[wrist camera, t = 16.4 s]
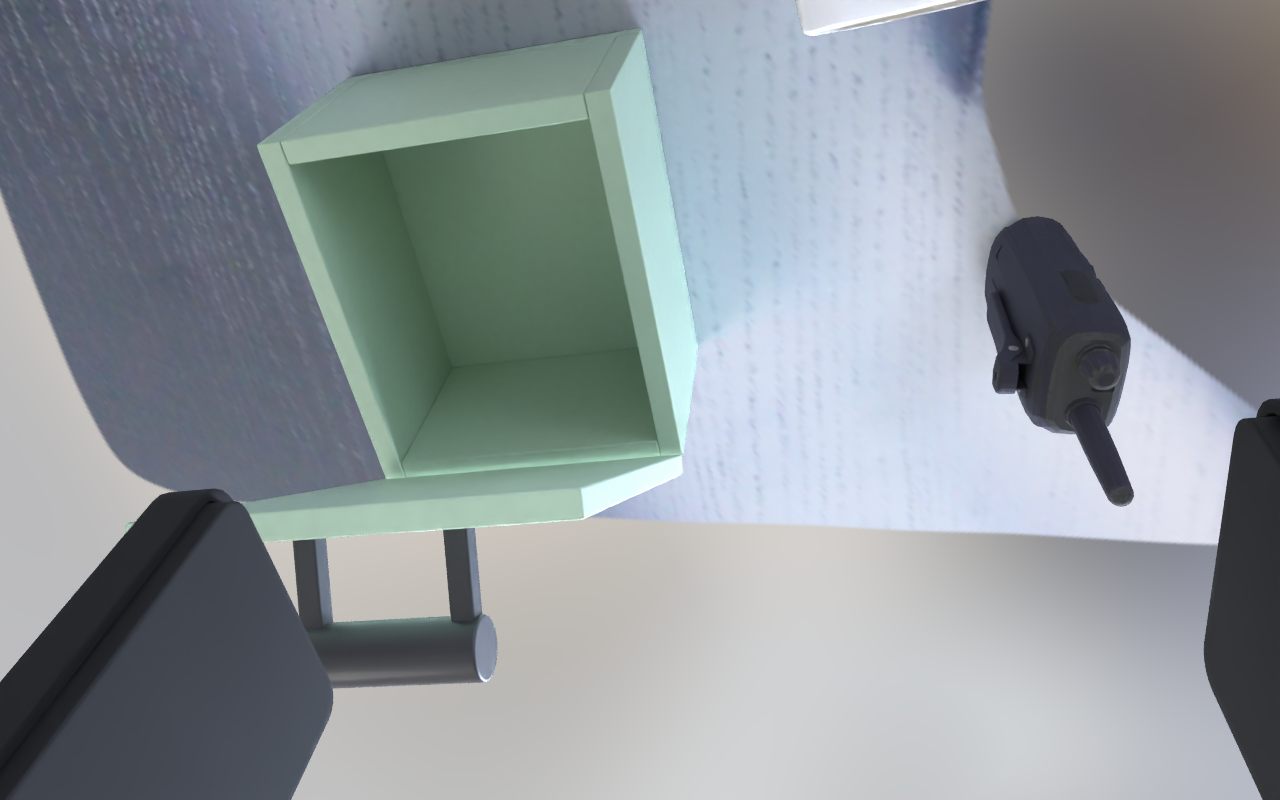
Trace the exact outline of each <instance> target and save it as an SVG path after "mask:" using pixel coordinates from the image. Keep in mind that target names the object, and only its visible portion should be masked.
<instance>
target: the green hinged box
mask: <svg viewBox="0 0 1280 800" xmlns="http://www.w3.org/2000/svg"><path fill="white" fill-rule="evenodd" d="M257 147H258V150H259V153H260V155H261V158H262V160H263V163H264V165H265V168H266V171H267V173H268V176H269V178H270V181H271V183H272V186H273V189H274V191H275V194H276V196H277V199H278V201H279V204H280V207H281V209H282V212H283V214H284V217H285V219H286V222H287V225H288V227H289V230H290V232H291V235H292V237H293V240H294V243H295V245H296V248H297V250H298V253H299V255H300V258H301V261H302V263H303V266H304V268H305V271H306V273H307V276H308V279H309V281H310V284H311V286H312V289H313V291H314V294H315V297H316V299H317V302H318V304H319V307H320V309H321V312H322V315H323V317H324V320H325V322H326V325H327V327H328V330H329V333H330V335H331V338H332V340H333V343H334V346H335V348H336V351H337V353H338V356H339V358H340V361H341V364H342V366H343V369H344V371H345V374H346V376H347V379H348V382H349V384H350V387H351V389H352V392H353V394H354V397H355V400H356V402H357V405H358V407H359V410H360V412H361V415H362V418H363V420H364V423H365V425H366V428H367V430H368V433H369V436H370V438H371V441H372V443H373V446H374V448H375V451H376V454H377V456H378V459H379V461H380V464H381V466H382V469H383V472H384V474H385V477H386V479H393V478H405V477H417V476H429V475H441V474H453V473H465V472H476V471H488V470H500V469H512V468H524V467H536V466H548V465H560V464H572V463H584V462H596V461H608V460H620V459H632V458H644V457H656V456H668V455H681V457H683V454H684V447H685V440H686V433H687V426H688V419H689V412H690V405H691V397H692V390H693V383H694V376H695V369H696V362H697V354H698V343H697V337H696V332H695V326H694V320H693V315H692V309H691V303H690V298H689V292H688V286H687V281H686V275H685V269H684V264H683V258H682V253H681V247H680V241H679V236H678V230H677V224H676V219H675V213H674V207H673V202H672V196H671V190H670V185H669V179H668V173H667V168H666V162H665V157H664V151H663V145H662V140H661V134H660V128H659V123H658V117H657V111H656V106H655V100H654V94H653V89H652V83H651V77H650V72H649V66H648V60H647V55H646V49H645V44H644V38H643V32H642V29H641V28H637V29H631V30H626V31H620V32H614V33H608V34H602V35H596V36H590V37H584V38H578V39H572V40H567V41H561V42H555V43H549V44H543V45H537V46H531V47H525V48H519V49H513V50H508V51H502V52H496V53H490V54H484V55H478V56H472V57H466V58H460V59H454V60H449V61H443V62H437V63H431V64H425V65H419V66H413V67H407V68H401V69H395V70H390V71H384V72H378V73H372V74H366V75H360V76H354V77H348V78H347V79H346V80H344V81H343V82H342V83H340V84H339V85H337V86H336V87H335V88H333V89H332V90H330V91H329V92H328V93H326V94H325V95H324V96H322V97H321V98H320V99H318V100H317V101H316V102H314V103H313V104H312V105H310V106H309V107H307V108H306V109H305V110H303V111H302V112H301V113H299V114H298V115H297V116H295V117H294V118H293V119H291V120H290V121H289V122H287V123H286V124H285V125H283V126H282V127H280V128H279V129H278V130H276V131H275V132H274V133H272V134H271V135H270V136H268V137H267V138H266V139H264V140H263V141H262V142H260V143H259V144H258V145H257Z"/></svg>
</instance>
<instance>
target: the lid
mask: <svg viewBox="0 0 1280 800" xmlns="http://www.w3.org/2000/svg"><path fill="white" fill-rule="evenodd" d="M681 474H683V468H682V458H681V455H668V456H656V457H644V458H632V459H620V460H608V461H596V462H584V463H572V464H560V465H548V466H536V467H524V468H512V469H500V470H488V471H476V472H465V473H453V474H441V475H429V476H417V477H405V478H393V479H382V480H376V481H370V482H365V483H359V484H353V485H347V486H341V487H335V488H329V489H324V490H318V491H312V492H306V493H300V494H294V495H288V496H283V497H277V498H271V499H265V500H259V501H253V502H247V503H242V505H243V506H244V507H245V508H246V510H247V511H248V513H249V515H250V517H251V519H252V521H253V523H254V525H255V527H256V529H257V531H258V533H259V535H260V537H261V539H262V541H263V543H266V542H281V541H293V548H294V560H295V572H296V584H297V595H298V607H299V617H300V619H301V622H302V624H303V626H304V628H305V630H306V632H307V634H308V636H309V638H310V640H311V642H312V644H313V646H314V648H315V650H316V652H317V654H318V657H319V659H320V661H321V663H322V665H323V667H324V669H325V671H326V673H327V675H328V677H329V679H330V682H331V685H332V688H355V687H379V686H403V685H404V686H405V685H430V684H455V683H480V682H486V681H488V680H489V679H490V678H491V677H492V675H493V673H494V669H495V665H496V660H497V637H496V632H495V628H494V625H493V622H492V620H491V619H490V617H489V616H486V615H482V606H481V595H480V583H479V571H478V560H477V550H476V537H475V527H489V526H502V525H517V524H531V523H544V522H558V521H571V520H582V519H585V518H587V517H589V516H591V515H594V514H596V513H598V512H600V511H602V510H605V509H607V508H609V507H611V506H613V505H616V504H618V503H620V502H622V501H624V500H627V499H629V498H631V497H633V496H635V495H638V494H640V493H642V492H644V491H646V490H649V489H651V488H653V487H655V486H657V485H660V484H662V483H664V482H666V481H668V480H671V479H673V478H675V477H677V476H679V475H681ZM134 523H135V522H130V523H127V524H126V533H127V531H128V530H129V529H130V528H131V527H132V525H133V524H134ZM433 530H443V533H444V545H445V556H446V567H447V579H448V590H449V601H450V612H451V616H447V617H428V618H410V619H391V620H372V621H355V622H336V623H333V617H332V607H331V593H330V581H329V570H328V559H327V546H326V538H336V537H349V536H364V535H376V534H377V535H378V534H390V533H391V534H392V533H405V532H420V531H433Z"/></svg>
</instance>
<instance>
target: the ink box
mask: <svg viewBox="0 0 1280 800" xmlns="http://www.w3.org/2000/svg"><path fill="white" fill-rule="evenodd" d="M980 1H985V0H796V5H797V10H798V15H799V19H800V23H801V27H802V30H803V32H804V33H805V34H806V35H809V36H818V35H821V34H827V33H832V32H837V31H845V30H850V29H856V28H861V27H866V26H871V25H876V24H881V23H885V22H890V21H895V20H900V19H905V18H909V17H914V16H918V15H923V14H927V13H932V12H936V11H941V10H945V9H950V8H955V7H959V6H963V5H967V4H972V3H976V2H980Z"/></svg>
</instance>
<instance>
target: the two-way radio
mask: <svg viewBox="0 0 1280 800" xmlns="http://www.w3.org/2000/svg"><path fill="white" fill-rule="evenodd" d="M985 297H986V302H987V321H988V324H989V327H990V330H991V333H992V336H993V339H994V342H995V346H996V349H997V353H998V354H997V356H996V360H995V364H994V369H993V381H992V384H993V387H994V389H995V392H996V393H998V394H1014V393H1015V391H1016V390H1017V393H1018V395H1019V398H1020V400H1021V403H1022V405H1023V408H1024V410H1025V412H1026V414H1027V415H1028V417H1029V418H1030V420H1031V421H1032V422H1033V423H1034V424H1035V425H1037V426H1039V427H1043V428H1045V429H1047V430H1049V431H1051V432H1053V433H1062V434H1076V435H1077V437H1078V439H1079V442H1080V444H1081V446H1082V448H1083V450H1084V452H1085V454H1086V456H1087V459H1088V461H1089V463H1090V465H1091V467H1092V469H1093V471H1094V472H1095V474H1096V476H1097V478H1098V480H1099V482H1100V484H1101V486H1102V488H1103V490H1104V492H1105V494H1106V496H1107V498H1108V500H1109V501H1110V502H1111V503H1112V504H1114V505H1116V506H1126V505H1128V504H1130V503H1131V501H1132V499H1133V497H1134V492H1133V489H1132V487H1131V484H1130V482H1129V479H1128V476H1127V474H1126V471H1125V469H1124V466H1123V464H1122V461H1121V459H1120V456H1119V454H1118V451H1117V449H1116V447H1115V445H1114V442H1113V440H1112V438H1111V436H1110V433H1109V431H1108V429H1107V426H1109V424H1110V423H1111V422H1112V420H1113V418H1114V416H1115V413H1116V411H1117V407H1118V404H1119V401H1120V398H1121V394H1122V390H1123V385H1124V381H1125V377H1126V372H1127V368H1128V363H1129V356H1130V347H1131V338H1130V335H1129V332H1128V329H1127V326H1126V323H1125V321H1124V319H1123V317H1122V315H1121V314H1120V312H1119V310H1118V308H1117V307H1116V305H1115V304H1114V302H1113V300H1112V299H1111V297H1110V296H1109V294H1108V293H1107V291H1106V290H1105V287H1104V286H1103V284H1102V283H1101V281H1100V280H1099V279H1097V278H1096V274H1095V272H1094V268H1093V266H1092V265H1090V264H1089V262H1088V260H1087V259H1086V258H1085V257H1084V255H1083V254H1082V253H1081V252H1080V251H1079V249H1078V247H1077V246H1076V244H1075V242H1074V241H1073V240H1072V238H1071V236H1070V235H1069V234H1068V233H1067V231H1066V230H1065V229H1064V228H1063V226H1062V225H1061V224H1060V223H1058V222H1057V221H1055V220H1053V219H1049V218H1044V217H1038V216H1037V217H1030V218H1023V219H1021V220H1019V221H1018V222H1016V223H1014V224H1013V225H1011V226H1009V227H1006V228H1004V229H1003V230H1002V231H1001V232H1000V233H999V235H998V236H997V237H996V238H995V241H994V243H993V245H992V247H991V251H990V255H989V260H988V265H987V271H986V281H985Z"/></svg>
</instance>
